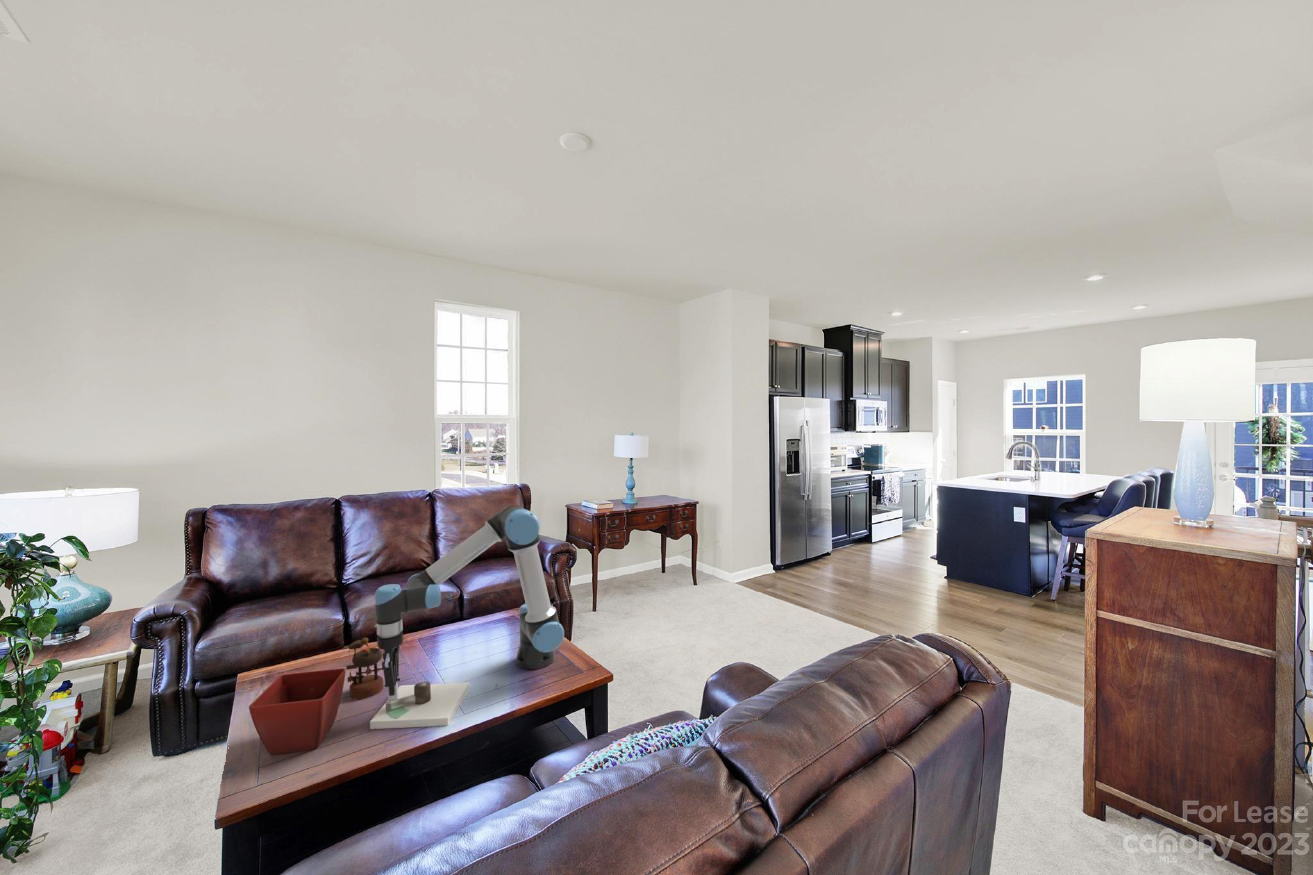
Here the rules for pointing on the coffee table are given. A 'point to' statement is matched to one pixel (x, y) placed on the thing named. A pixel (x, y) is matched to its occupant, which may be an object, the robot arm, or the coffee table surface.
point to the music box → (365, 658)
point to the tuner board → (423, 708)
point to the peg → (412, 697)
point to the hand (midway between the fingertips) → (393, 702)
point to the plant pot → (298, 710)
